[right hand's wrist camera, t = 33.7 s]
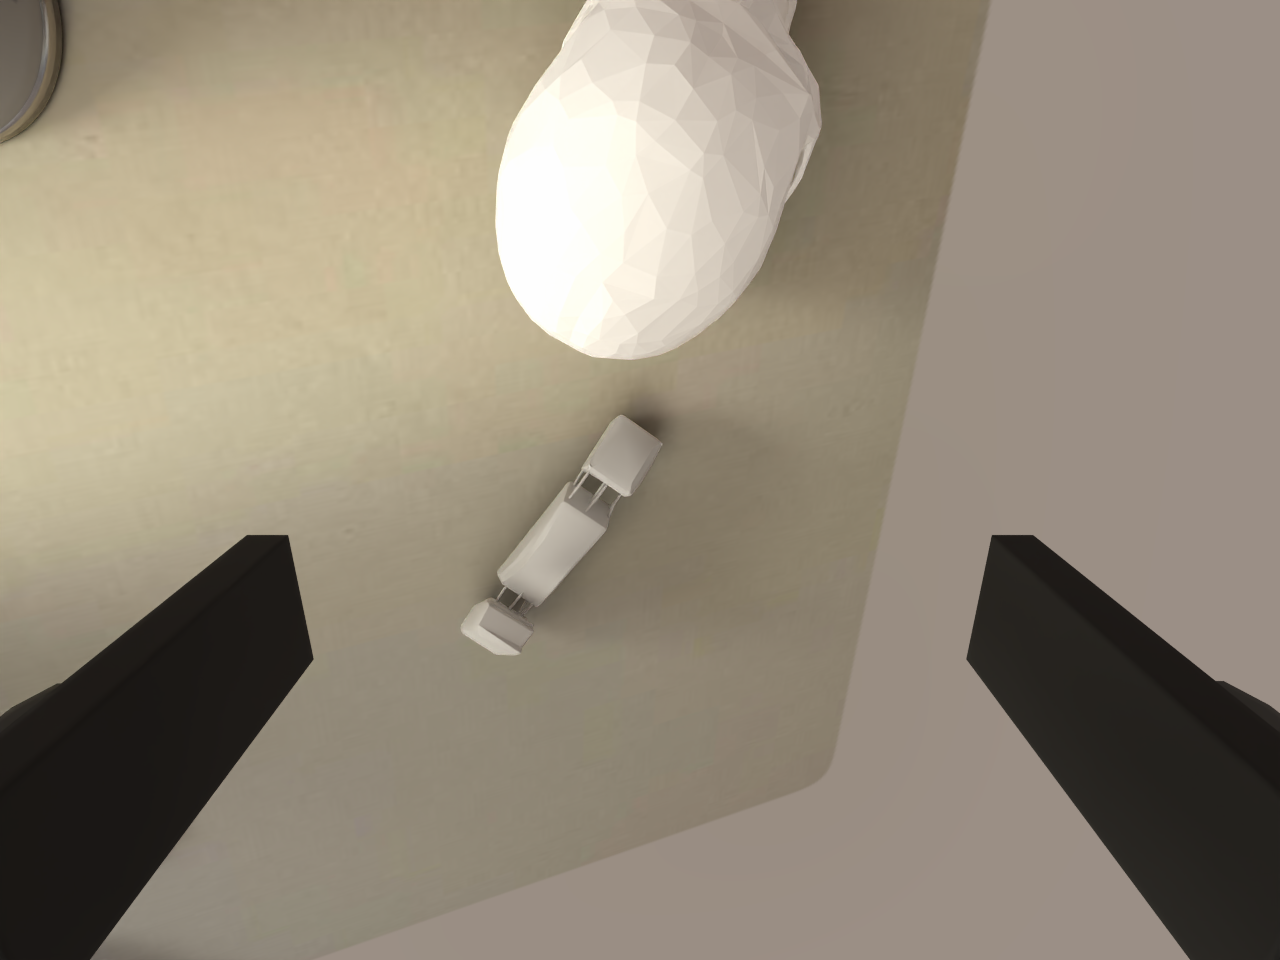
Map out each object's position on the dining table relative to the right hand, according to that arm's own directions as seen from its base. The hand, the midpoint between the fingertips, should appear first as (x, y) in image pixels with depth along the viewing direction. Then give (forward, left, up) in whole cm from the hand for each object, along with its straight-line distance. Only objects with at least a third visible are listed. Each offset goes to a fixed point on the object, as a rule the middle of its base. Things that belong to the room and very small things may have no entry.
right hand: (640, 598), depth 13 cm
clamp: (-15, -3, -33) cm, 36 cm away
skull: (+9, +5, -33) cm, 34 cm away
